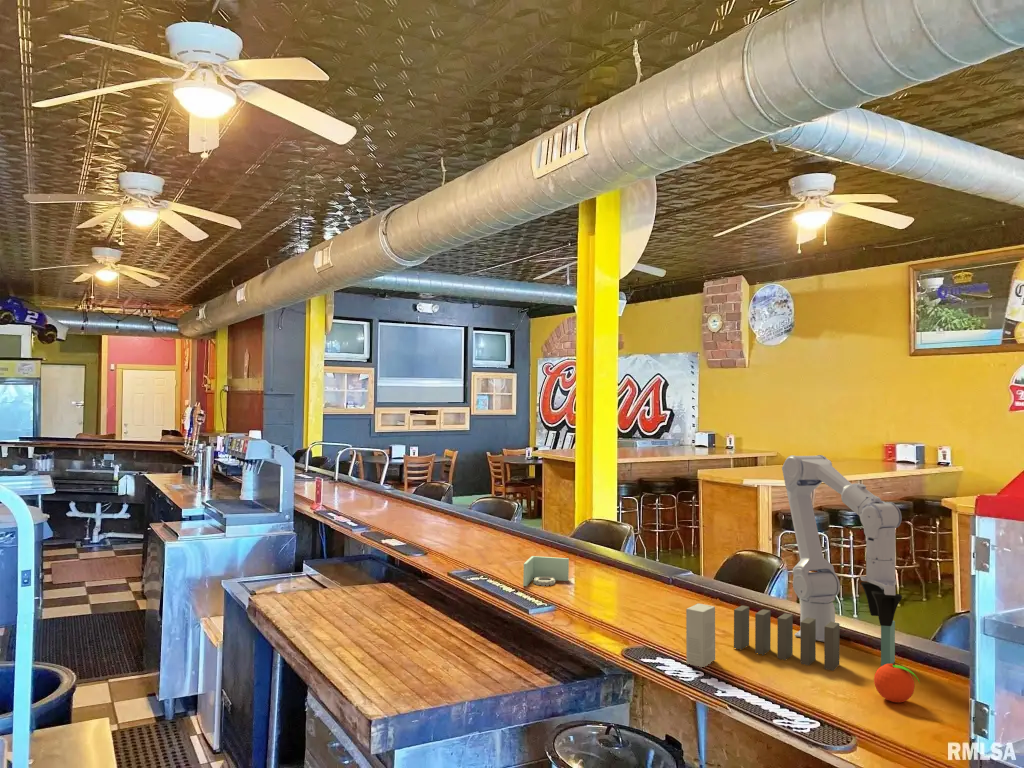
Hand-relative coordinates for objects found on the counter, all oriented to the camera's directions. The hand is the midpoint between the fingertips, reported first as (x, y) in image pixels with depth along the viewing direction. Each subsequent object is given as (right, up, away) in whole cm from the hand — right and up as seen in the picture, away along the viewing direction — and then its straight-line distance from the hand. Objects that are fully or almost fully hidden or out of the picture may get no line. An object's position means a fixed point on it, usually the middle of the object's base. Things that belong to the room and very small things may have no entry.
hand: (880, 620), depth 163 cm
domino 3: (-20, -9, +4) cm, 22 cm away
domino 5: (-12, -9, -2) cm, 15 cm away
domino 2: (-23, -9, +7) cm, 26 cm away
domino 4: (-16, -9, +1) cm, 18 cm away
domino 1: (-27, -9, +10) cm, 31 cm away
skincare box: (-40, -9, -1) cm, 41 cm away
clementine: (-7, -9, -21) cm, 24 cm away
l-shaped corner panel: (-70, -11, +69) cm, 99 cm away
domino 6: (+2, -10, 0) cm, 10 cm away
